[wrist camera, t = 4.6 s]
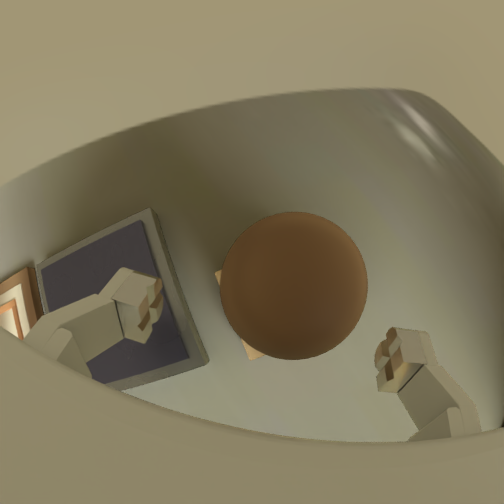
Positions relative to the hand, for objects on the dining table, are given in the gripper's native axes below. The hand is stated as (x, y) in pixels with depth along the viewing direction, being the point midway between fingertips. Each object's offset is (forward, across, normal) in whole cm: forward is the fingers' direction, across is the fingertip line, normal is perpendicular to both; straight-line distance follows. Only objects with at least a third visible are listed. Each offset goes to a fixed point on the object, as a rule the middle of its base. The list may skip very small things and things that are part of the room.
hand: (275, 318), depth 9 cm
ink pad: (+4, +10, +7) cm, 13 cm away
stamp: (+6, 0, +5) cm, 8 cm away
